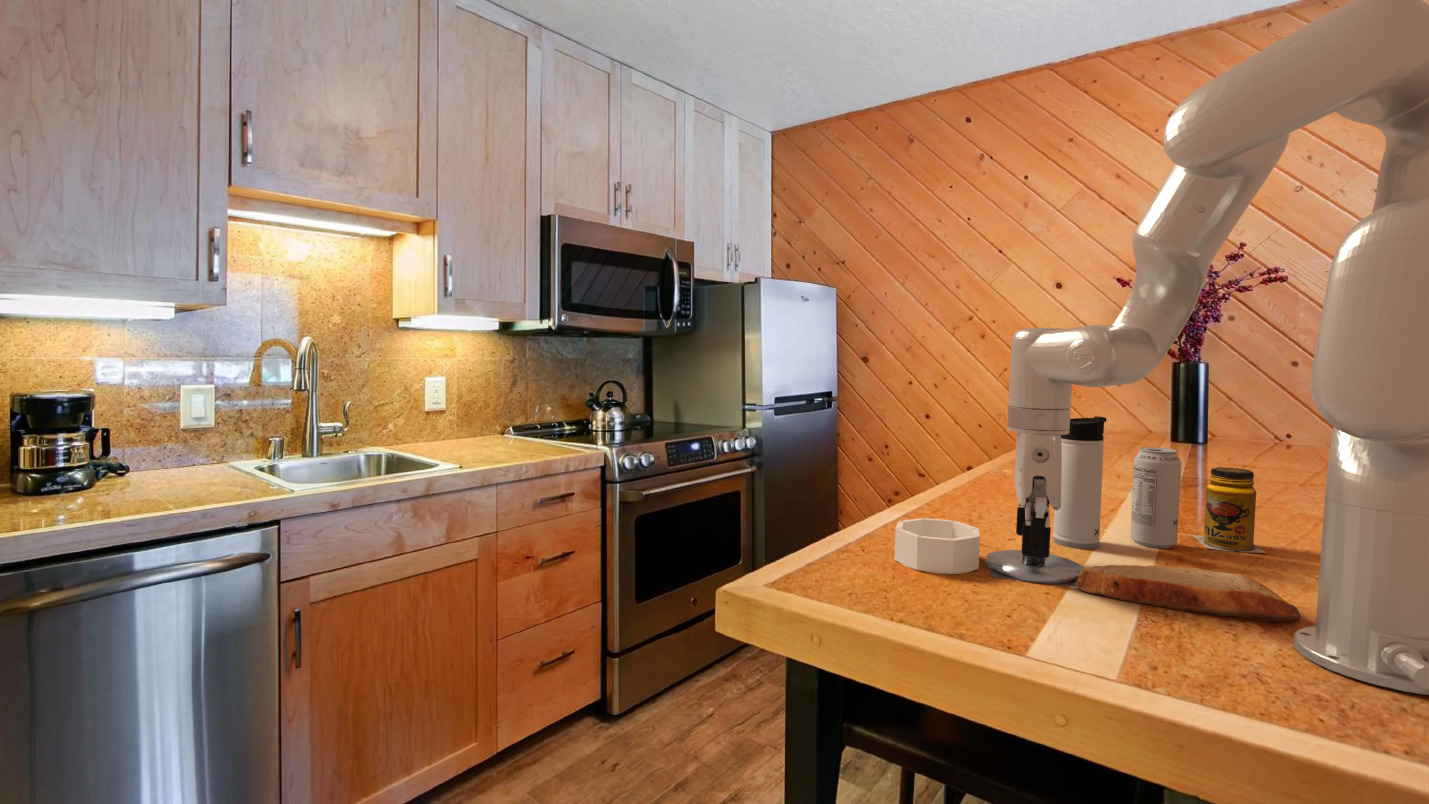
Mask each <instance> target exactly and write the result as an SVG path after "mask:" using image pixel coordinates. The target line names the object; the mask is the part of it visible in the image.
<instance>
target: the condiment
mask: <svg viewBox="0 0 1429 804" xmlns="http://www.w3.org/2000/svg"><path fill="white" fill-rule="evenodd" d="M1254 478H1255V473H1254V471H1252V470H1249V469H1245V468H1237V467H1227V466H1226V467H1220V466H1219V467H1213V468H1211V469H1210V478H1209V481H1210V483H1209V484H1208V485H1207V487H1206V490H1205V491H1206V493H1205V494H1206V495H1205V509H1204V511H1205V513H1204V522H1203V523H1204V525H1203V527H1204V531H1203V532H1204V534H1203V535H1199V534H1198V535H1197V534H1191V536H1192V538H1194V539H1195V540H1197V541H1198V542H1199V544H1201V545H1202V546H1203V547H1205V548H1206V549H1209V550H1219V551H1224V552H1225V551H1226V552H1234V551H1239V552H1240V553H1257V554H1267V552H1266V551H1264V550H1262V549H1261V548H1259V547H1258V546H1256V545H1255V540H1254V539H1255V526H1256V525H1255V522H1256V504H1257V503H1256V502H1257V490H1256V489H1255V488H1254V484H1255V481H1254ZM1205 544H1206V545H1205ZM1230 550H1231V551H1230ZM1239 552H1238V553H1239Z"/></svg>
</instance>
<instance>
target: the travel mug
mask: <svg viewBox="0 0 1429 804" xmlns="http://www.w3.org/2000/svg"><path fill="white" fill-rule="evenodd" d="M1106 422H1107V417H1105V416H1098V415H1097V416H1093V417H1076V418H1075V417H1074V418H1070V428H1069V429H1070V430H1069V434H1065V435H1061V443H1062V476H1061V508H1060V509H1059V510H1054V511H1053V512H1054V514H1053V535H1052V536H1053V537H1052V541H1053V543H1054V544H1056V545H1059V546H1061V547H1066V548H1069V549H1077V550H1095V549H1099V547H1100V535H1101V533H1100V531H1101V513H1102V512H1101V511H1102V509H1101V508H1102V493H1103V492H1102V487H1103V466H1104V465H1103V464H1104V443H1105V440H1104V433H1105V423H1106Z"/></svg>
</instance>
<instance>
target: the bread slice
mask: <svg viewBox="0 0 1429 804" xmlns="http://www.w3.org/2000/svg"><path fill="white" fill-rule="evenodd" d="M1075 585H1077V587H1076V588H1078V589H1079V590H1080V591H1082V592H1085V593H1089V594H1093V595H1100V596H1103V597H1107V598H1112V599H1118V600H1119V601H1126V602H1132V603H1136V604H1141V605H1142V604H1143V605H1144V604H1145V605H1150V606H1155V607H1159V608H1160V607H1161V608H1166V609H1167V608H1168V609H1172V610H1178V611H1186V612H1192V613H1197V614H1209V615H1213V616H1218V617H1231V618H1237V619H1241V620H1242V619H1243V620H1248V619H1251V620H1257V621H1267V622H1289V621H1298V620H1301V618H1302V617H1301V613H1300V611H1299V609H1298V608H1297V607H1296V606H1295V605H1294V604H1292V603H1289V602H1287V601H1286V600H1285V599H1284V598H1282V597H1281V596H1280V595H1278V594H1277V593H1275V592H1274V591H1273V590H1272V589H1270V588H1269V587H1267V586H1266V585H1264V584H1263V583H1261V582H1259V581H1257V580H1255V579H1254V578H1251V577H1250V576H1248V575H1245V574H1241V573H1232V572H1230V573H1229V572H1223V571H1216V570H1215V571H1214V570H1209V569H1204V568H1200V567H1199V568H1197V567H1195V568H1192V567H1191V568H1190V567H1175V566H1168V565H1137V564H1136V565H1129V564H1127V565H1126V564H1123V565H1122V564H1121V565H1120V564H1109V565H1094V566H1089V567H1086V568H1083V570H1082V571H1081V573H1080V575H1079V577H1078V579H1077V581H1076V583H1075Z"/></svg>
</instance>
